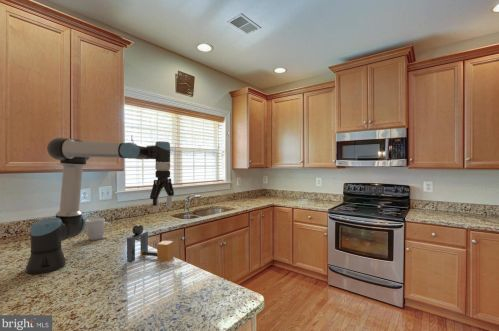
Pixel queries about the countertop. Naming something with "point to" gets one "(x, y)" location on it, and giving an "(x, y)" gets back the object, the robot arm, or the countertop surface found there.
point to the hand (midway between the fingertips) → (162, 209)
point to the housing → (131, 242)
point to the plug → (161, 251)
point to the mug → (96, 228)
